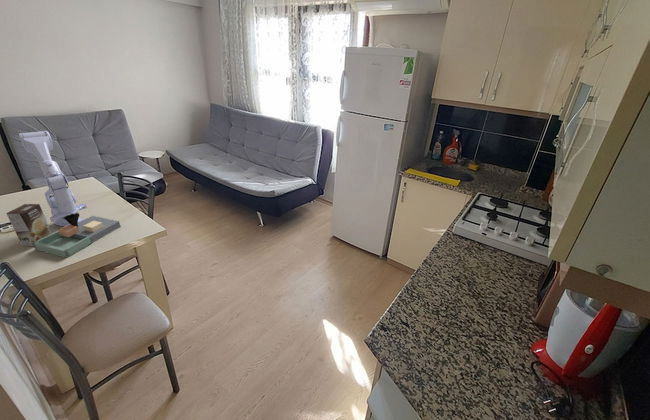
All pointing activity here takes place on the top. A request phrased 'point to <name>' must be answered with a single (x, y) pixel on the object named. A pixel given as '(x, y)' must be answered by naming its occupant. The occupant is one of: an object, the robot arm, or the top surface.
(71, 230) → the tile
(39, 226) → the coffee box
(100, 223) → the tile
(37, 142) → the robot arm
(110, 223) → the board
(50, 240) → the tray
